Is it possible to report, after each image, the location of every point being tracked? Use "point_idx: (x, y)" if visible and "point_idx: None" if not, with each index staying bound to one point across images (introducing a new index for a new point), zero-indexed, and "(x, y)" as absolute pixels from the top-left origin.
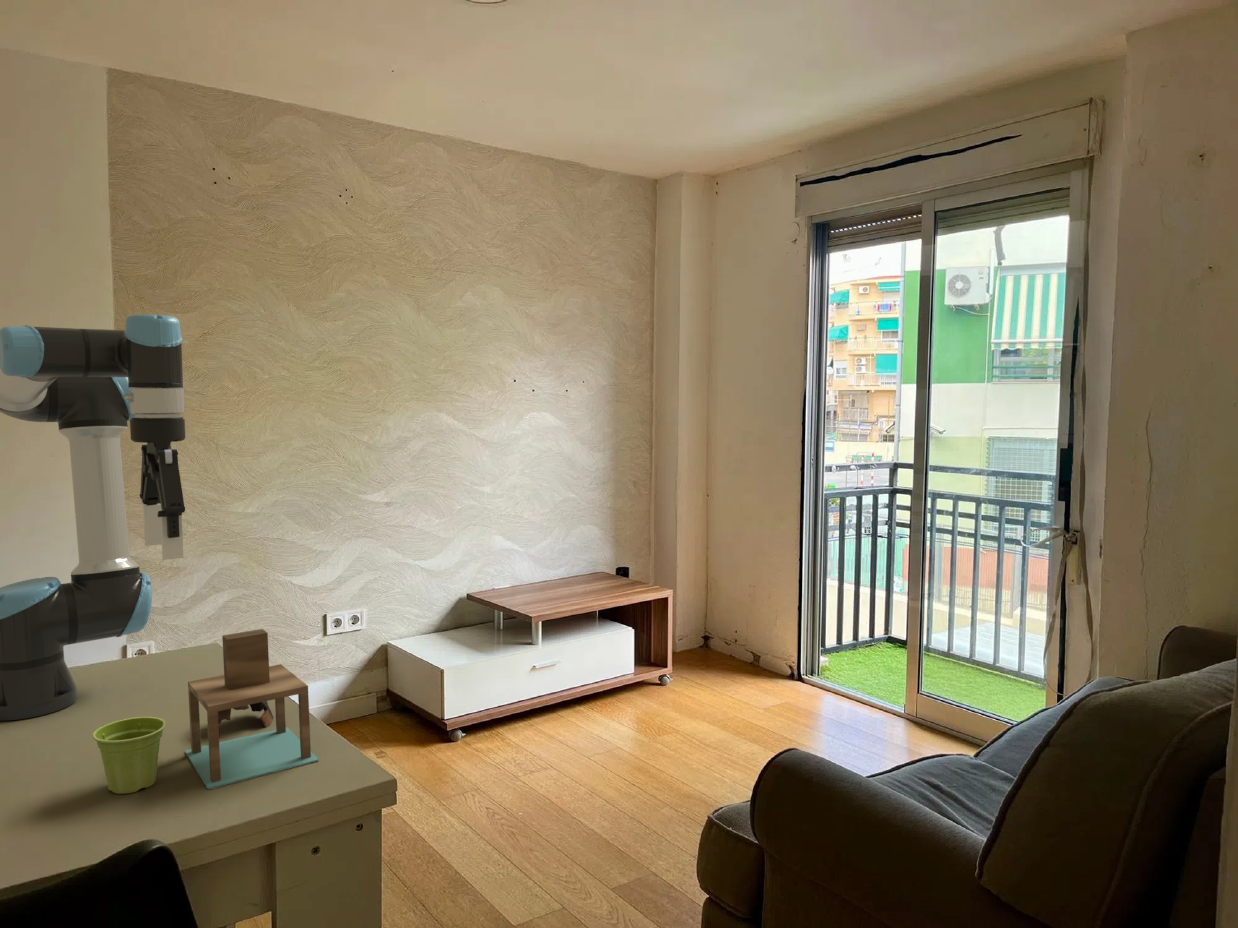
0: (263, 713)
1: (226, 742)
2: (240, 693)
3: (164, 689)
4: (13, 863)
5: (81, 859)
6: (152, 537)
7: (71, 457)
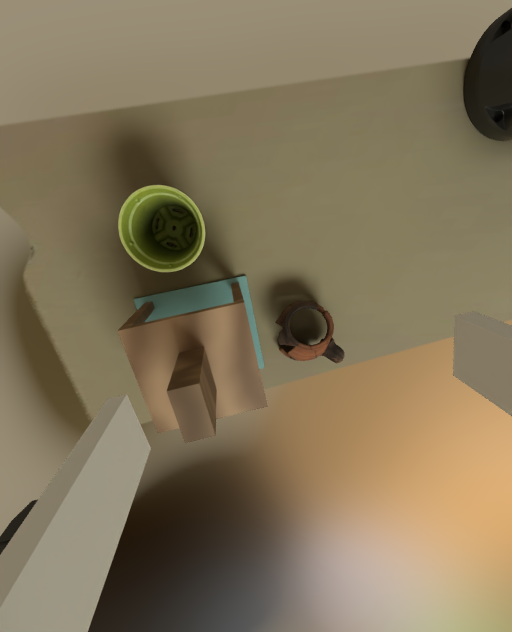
0: (286, 352)
1: (248, 314)
2: (159, 364)
3: (469, 245)
4: (11, 126)
5: (3, 193)
6: (481, 352)
7: None
